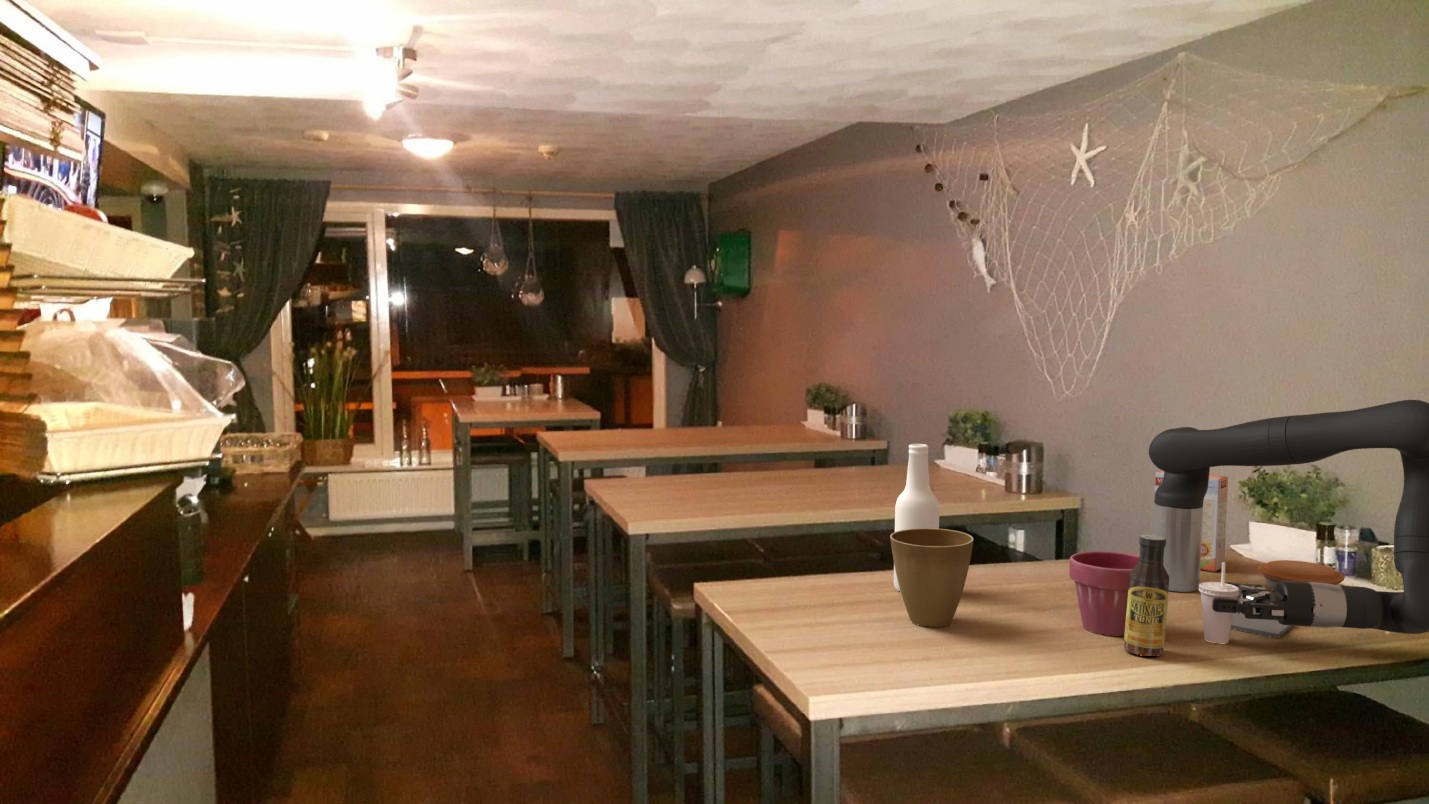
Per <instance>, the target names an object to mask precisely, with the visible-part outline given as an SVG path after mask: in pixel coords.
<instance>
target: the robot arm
mask: <svg viewBox="0 0 1429 804" xmlns="http://www.w3.org/2000/svg"><path fill="white" fill-rule="evenodd" d="M1362 449H1363V450H1367V449H1392V450H1393V449H1394V450H1397V451H1398V452H1399V453H1400V457H1401V463H1402V470H1403V486H1402V487H1403V490H1402V495H1401V498H1400V502H1399V505H1398V508H1397V513H1396V516H1395V521H1394V530H1393V533H1394V534H1393V562H1394V563H1393V564H1394V568H1395V569H1396V571H1397V573H1400V574H1401V575H1402V584H1403V591H1381V590H1379V591H1378V590H1375V589H1373V588H1370V587H1366V586H1358V585H1357V586H1355V585H1340V584H1337V585H1332V584H1327V583H1316V582H1299V581H1279V582H1278V583H1277V585H1276V588H1275V589H1273V591H1272V590H1267V589H1266V588H1265V587H1263V585H1261V584H1260V583H1259V584H1253V583H1241V582H1240V583H1239V582H1230V581H1227V582H1225V583H1226V584H1231V585H1234V586H1236V587H1238V588H1239V595H1238V596H1237V599H1223V598H1214V599H1213V601H1212V609H1213V610H1214V611H1215V612H1227V613H1237V612H1238V614H1239V615H1241V616H1243V615H1245V618H1247V619H1265V620H1278V622H1279V623H1280V624H1282V625H1291V626H1292V627H1294V626H1295V627H1304V628H1305V627H1310V628H1322V629H1323V628H1325V629H1327V628H1328V629H1329V628H1330V629H1331V628H1332V629H1333V628H1347V629H1358V630H1359V629H1361V630H1365V629H1372V630H1378V631H1384V632H1389V633H1391V632H1392V633H1397V634H1408V635H1410V634H1412V635H1420V634H1424V633H1429V402H1427V401H1424V400H1419V399H1403V400H1398V401H1397V400H1396V401H1394V402H1393V401H1392V402H1388V403H1384V404H1383V403H1382V404H1378V405H1372V406H1368V407H1363V408H1358V409H1352V410H1343V411H1331V412H1329V411H1328V412H1319V413H1307V414H1293V415H1286V416H1285V415H1284V416H1275V417H1270V418H1269V417H1268V418H1263V419H1257V420H1252V421H1248V422H1247V421H1246V422H1243V423H1237V424H1233V425H1231V426H1226V427H1220V428H1215V429H1198V428H1195V427H1191V426H1182V427H1181V426H1180V427H1175V428H1169V429H1166V430H1163V431H1162V432H1160V433H1158V434H1157V435H1156V436H1155V437H1154V438H1153V439H1152V440H1151V442H1150V444H1149V448H1148V456H1149V459H1150V461H1151V463H1152V464H1153V465H1154V466H1155V467H1156V468H1157V469H1159V470H1161V471H1164V477H1163V480H1162V482H1161V484H1160V486H1159V487H1158V488H1157V490H1156V491H1155V490H1154V503H1153V504H1154V507H1153V526H1152V527H1153V530H1152V535H1157V536H1161V537H1164V538H1166V546H1165V548H1164V557H1163V560H1164V563H1163V565H1164V568H1165V570H1166V572H1167V573H1168V575H1169V588H1168V591H1171V592H1181V593H1182V592H1183V593H1184V592H1185V593H1186V592H1187V593H1189V592H1190V593H1191V592H1196V591H1199V584H1200V581H1201V569H1200V563H1201V542H1202V522H1203V502H1204V497H1205V495H1206V493H1207V489H1208V483H1209V475H1210V469H1211V468H1215V467H1225V466H1229V467H1230V466H1231V467H1232V466H1233V467H1273V466H1276V467H1277V466H1280V467H1281V466H1291V465H1303V464H1304V465H1305V464H1311V463H1314V462H1318V461H1321V460H1324V459H1327V458H1330V457H1333V456H1335V455H1337V454H1341V453H1344V452H1347V451H1348V452H1349V451H1353V450H1362Z"/></svg>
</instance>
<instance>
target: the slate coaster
mask: <svg viewBox="0 0 1429 804" xmlns="http://www.w3.org/2000/svg"><path fill="white" fill-rule="evenodd" d="M1291 628H1293V626H1291V625H1282V624H1280V623H1279V622H1278V620H1265V619H1247V618H1245V615H1243V616H1241V615H1239V614H1238V612H1237V613H1234V615H1233V620H1232V625H1231V630H1232V629H1236V630H1235V631H1237V630H1241V631H1240V632H1242V631H1245V632H1244V633H1247V632H1250V633H1249V634H1252V633H1255V634H1254V635H1257V634H1261V635H1260V636H1262V635H1266V636H1265V637H1267V636H1271V637H1270V638H1272V637H1276V638H1275V639H1277V638H1278V637H1279V636H1280V637H1282V636H1283V635H1285V633H1287V632H1288V631H1289V630H1290V629H1291ZM1287 630H1288V631H1287ZM1282 634H1283V635H1282ZM1280 637H1279V638H1280ZM1279 638H1278V639H1279Z"/></svg>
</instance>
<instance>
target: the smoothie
mask: <svg viewBox="0 0 1429 804" xmlns="http://www.w3.org/2000/svg"><path fill="white" fill-rule="evenodd" d="M1220 576H1221V578H1220V581H1204V582H1201V583H1200V582H1199V589H1198V591H1199V592H1200V602H1201V612H1202V613H1201V614H1202V623H1203V635H1204V640H1205V639H1206V640H1208V641H1211V642H1216V643H1227V642H1228V643H1229V640H1230V635H1231V630H1232V629H1231V625H1232V620H1233V615H1234V613H1227V612H1215V611H1214V610H1213V609H1212V601H1213V599H1214V598H1223V599H1237V596H1238V595H1239V588H1238V587H1236V586H1234V585H1231V584H1226V583H1227V582H1226V581H1225V580H1226V562H1225V561H1224V562H1222V569H1221V575H1220ZM1228 643H1227V644H1228Z"/></svg>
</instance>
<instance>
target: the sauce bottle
mask: <svg viewBox="0 0 1429 804" xmlns="http://www.w3.org/2000/svg"><path fill="white" fill-rule="evenodd" d="M1138 540H1139V541H1138V543H1139V555H1138V556H1139V561H1138V563H1137V564H1136V566H1135V567H1134V569H1133V570H1132V571H1131V573H1130V584H1129V589H1128V599H1127V611H1126V623H1125V634H1124V636H1123V639H1124V650H1125V651H1126V652H1127V651H1128V652H1127V653H1129V652H1130V654H1131V653H1132V655H1134V654H1136V655H1135V656H1138V655H1142V656H1141V657H1143V656H1158V655H1159V656H1161V655H1162V654H1163V651H1164V648H1165V647H1164V646H1165V638H1166V637H1165V636H1166V627H1167V617H1168V606H1169V605H1168V603H1169V590H1168V588H1169V575H1168V573H1167V572H1166V570H1165V568H1164V565H1163V563H1164V560H1163V557H1164V548H1165V546H1166V538H1164V537H1161V536H1157V535H1153V534H1141V535H1139V539H1138ZM1159 656H1158V657H1159Z"/></svg>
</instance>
